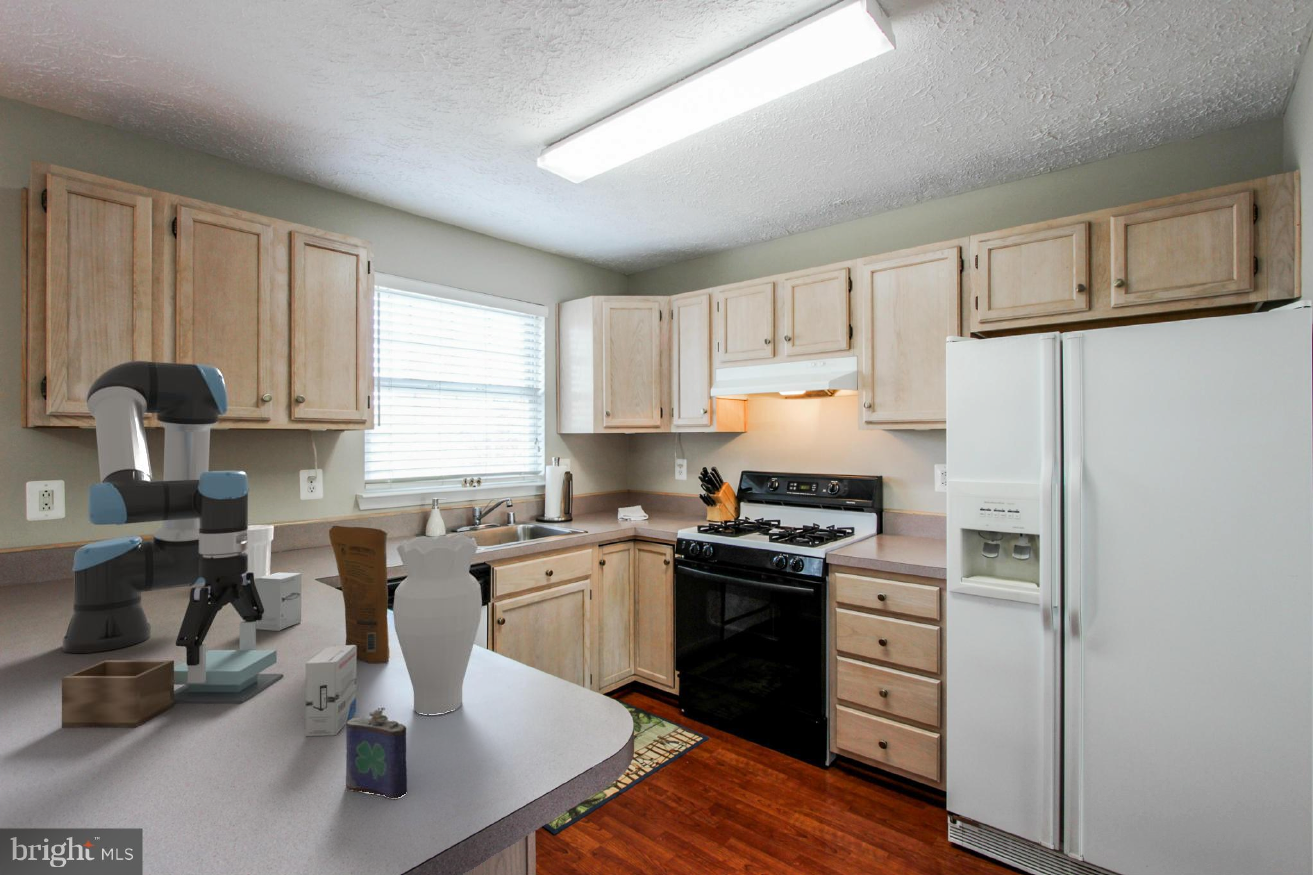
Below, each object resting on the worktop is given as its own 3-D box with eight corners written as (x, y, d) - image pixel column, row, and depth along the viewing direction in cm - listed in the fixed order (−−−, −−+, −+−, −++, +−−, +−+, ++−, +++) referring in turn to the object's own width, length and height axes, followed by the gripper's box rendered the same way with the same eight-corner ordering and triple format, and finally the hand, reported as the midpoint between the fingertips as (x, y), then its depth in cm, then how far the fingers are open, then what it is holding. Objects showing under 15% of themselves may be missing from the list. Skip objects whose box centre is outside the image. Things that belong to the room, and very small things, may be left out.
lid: (165, 697, 112) (165, 670, 112) (210, 674, 123) (210, 649, 123) (238, 698, 111) (238, 671, 111) (276, 674, 122) (276, 650, 122)
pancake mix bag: (371, 670, 127) (371, 531, 126) (325, 650, 138) (325, 523, 138) (402, 660, 132) (402, 527, 132) (355, 642, 143) (355, 520, 143)
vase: (414, 688, 117) (414, 533, 117) (492, 689, 117) (492, 533, 117) (376, 724, 103) (377, 547, 103) (465, 726, 102) (466, 547, 102)
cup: (280, 579, 207) (280, 526, 207) (242, 586, 197) (242, 530, 197) (262, 575, 213) (263, 523, 213) (225, 581, 203) (225, 527, 203)
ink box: (327, 713, 107) (327, 644, 107) (357, 712, 107) (357, 643, 107) (303, 737, 98) (303, 662, 98) (336, 736, 99) (336, 661, 99)
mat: (157, 702, 111) (157, 699, 111) (206, 676, 123) (206, 673, 123) (242, 702, 111) (242, 699, 111) (283, 676, 123) (283, 673, 123)
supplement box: (279, 631, 152) (279, 579, 152) (253, 629, 153) (253, 577, 153) (302, 622, 159) (302, 572, 159) (277, 620, 160) (277, 571, 160)
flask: (341, 789, 84) (341, 709, 84) (357, 778, 87) (358, 700, 87) (398, 802, 81) (398, 719, 81) (413, 790, 84) (414, 709, 84)
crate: (61, 727, 102) (61, 677, 102) (105, 705, 110) (105, 660, 110) (135, 727, 102) (135, 678, 102) (173, 706, 110) (174, 660, 110)
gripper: (194, 567, 104) (194, 695, 105) (284, 542, 129) (283, 645, 129) (149, 567, 105) (149, 695, 105) (247, 542, 129) (247, 645, 130)
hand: (223, 667), depth 117 cm, fingers open, 13 cm apart
